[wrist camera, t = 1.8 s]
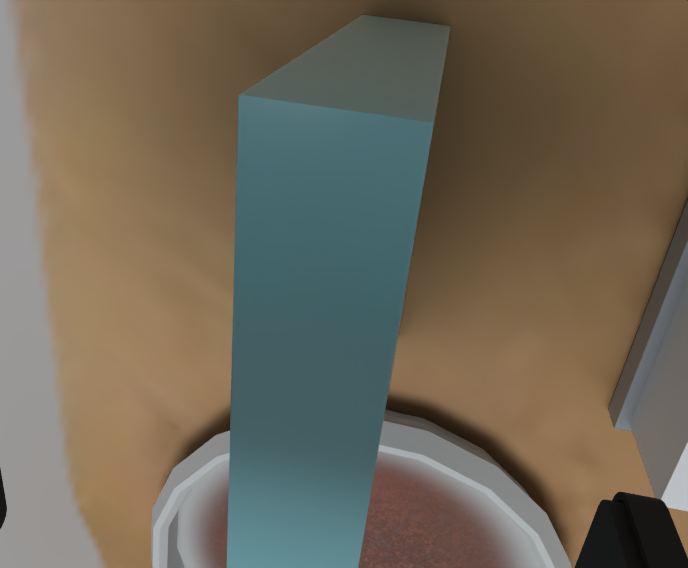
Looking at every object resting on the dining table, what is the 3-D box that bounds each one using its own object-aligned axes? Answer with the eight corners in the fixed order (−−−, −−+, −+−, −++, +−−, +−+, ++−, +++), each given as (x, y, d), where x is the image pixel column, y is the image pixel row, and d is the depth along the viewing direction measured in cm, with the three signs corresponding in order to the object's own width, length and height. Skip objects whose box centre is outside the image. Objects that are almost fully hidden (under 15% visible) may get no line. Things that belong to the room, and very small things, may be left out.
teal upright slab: (362, 14, 18) (238, 94, 8) (450, 26, 17) (434, 123, 8) (328, 325, 22) (225, 612, 13) (397, 337, 22) (346, 639, 12)
